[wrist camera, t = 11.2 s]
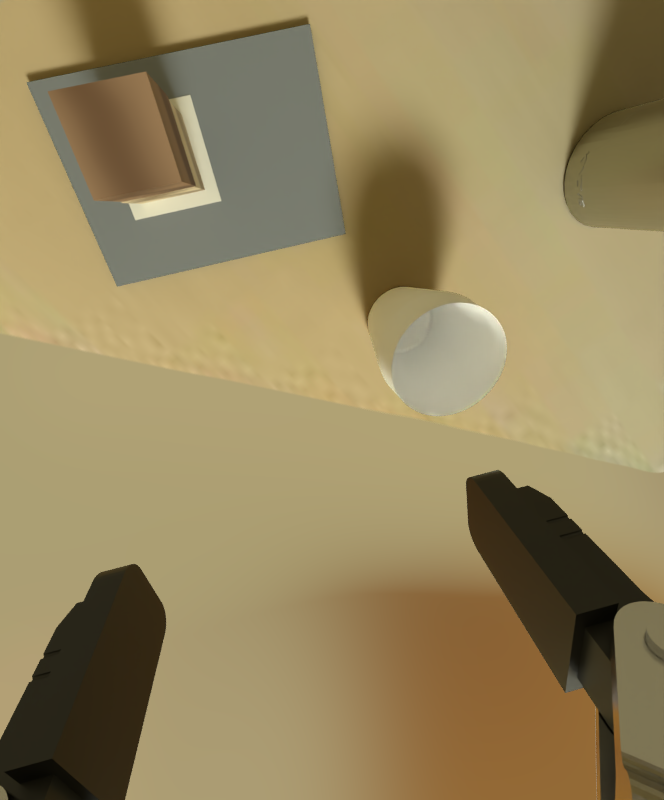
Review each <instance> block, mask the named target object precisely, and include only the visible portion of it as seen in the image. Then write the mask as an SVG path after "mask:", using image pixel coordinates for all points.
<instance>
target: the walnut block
mask: <svg viewBox="0 0 664 800" xmlns="http://www.w3.org/2000/svg"><path fill="white" fill-rule="evenodd" d="M48 94H49V96H50V98H51V101H52V103H53V106H54V108H55V110H56V113H57V115H58V117H59V120H60V122H61V124H62V127H63V129H64V131H65V134H66V136H67V139H68V141H69V143H70V146H71V148H72V150H73V153H74V155H75V157H76V160H77V162H78V164H79V167H80V169H81V172H82V174H83V176H84V179H85V181H86V183H87V186H88V188H89V190H90V193H91V195H92V197H93V200H94V201H114V202H125V201H129V200H134V199H139V198H143V197H148V196H152V195H157V194H162V193H166V192H171V191H176V190H180V189H185V188H189V187H194V186H196V184H195V181H194V178H193V175H192V172H191V168H190V165H189V162H188V159H187V156H186V152H185V149H184V146H183V143H182V140H181V136H180V133H179V130H178V127H177V124H176V120H175V117H174V114H173V111H172V108H171V104H170V101H169V98H168V96H167V95H166V93H165V92H164V91H163V90H162V89H161V88H160V87H159V86H158V84H157V83H156V82H155V81H154V80H153V79H152V78H151V77H150V75H149V74H148V73H147V72H141V73H136V74H131V75H126V76H121V77H116V78H111V79H106V80H101V81H96V82H91V83H87V84H82V85H77V86H72V87H67V88H62V89H57V90H52V91H48Z"/></svg>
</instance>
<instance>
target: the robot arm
mask: <svg viewBox="0 0 664 800" xmlns="http://www.w3.org/2000/svg"><path fill="white" fill-rule="evenodd" d="M564 189H565V198H566V203H567V206H568V208H569V210H570V212H571V214H572V215H573V216H574V217H575V218H576V219H577V220H578V221H579V222H581V223H582V224H584V225H587V226H591V227H600V228H617V229H630V230H647V231H664V99H660V100H656V101H653V102H649V103H645V104H642V105H638V106H635V107H631V108H627V109H624V110H620V111H617V112H614V113H611V114H609V115H607V116H605V117H603V118H602V119H600V120H599V121H598V122H596V123H595V124H594V125H593V126H592V127H591V128H590V129H589V130H588V131H587V132H586V133H585V134H584V135H583V137H582V138H581V140H580V141H579V143H578V144H577V145H576V147H575V149H574V151H573V153H572V155H571V157H570V160H569V163H568V167H567V170H566V175H565V182H564ZM466 491H467V509H468V525H469V530H470V534H471V536H472V539H473V542H474V544H475V546H476V548H477V550H478V552H479V553H480V555H481V556H482V558H483V560H484V561H485V563H486V565H487V566H488V568H489V570H490V571H491V573H492V574H493V576H494V578H495V579H496V581H497V583H498V584H499V586H500V587H501V589H502V591H503V592H504V594H505V596H506V597H507V599H508V600H509V602H510V604H511V605H512V607H513V608H514V610H515V612H516V613H517V615H518V617H519V618H520V620H521V622H522V623H523V625H524V626H525V628H526V630H527V631H528V633H529V635H530V636H531V638H532V639H533V641H534V643H535V644H536V646H537V648H538V649H539V651H540V653H541V654H542V656H543V657H544V659H545V661H546V662H547V664H548V666H549V667H550V669H551V670H552V672H553V673H554V675H555V677H556V679H557V680H558V682H559V683H560V685H561V687H562V688H563V690H564V691H565V693H567V692H570V691H573V690H577V689H580V688H584V689H585V690H586V692H587V693H588V695H589V696H590V698H591V699H592V701H593V702H594V704H595V706H596V710H595V719H596V720H595V727H596V779H597V780H596V782H597V800H664V604H661V603H656V602H654V601H653V600H651V599H650V598H649V597H648V596H647V595H645V594H644V593H643V592H642V591H641V590H640V589H639V588H638V587H637V586H636V585H635V584H634V583H633V582H632V581H631V580H630V579H629V578H628V576H627V575H626V574H625V573H624V572H623V571H622V570H621V569H620V568H619V567H618V566H617V565H616V564H615V563H614V562H613V561H612V560H611V559H610V558H609V557H608V556H607V555H606V554H605V553H604V552H603V551H602V550H601V549H600V548H599V547H598V546H597V545H596V544H595V543H594V542H593V541H592V540H591V539H590V538H589V537H588V536H587V535H586V534H583V532H582V530H581V529H580V528H579V526H578V525H577V524H576V523H575V522H574V521H573V520H572V519H569V518H568V515H567V514H566V513H565V512H564V511H563V510H562V509H561V508H560V507H559V506H558V505H557V504H556V503H555V502H554V501H553V500H552V499H551V498H550V497H548V496H546V495H544V494H543V493H541V492H539V491H537V490H535V489H533V488H531V487H530V486H525V487H521V488H516V487H515V486H514V485H513V484H512V482H511V481H510V480H509V479H508V478H507V477H506V476H505V474H504V473H502V472H501V471H499V470H496V471H492V472H488V473H484V474H481V475H477V476H473V477H469V478H468V479H467V481H466ZM165 629H166V615H165V610H164V607H163V604H162V602H161V601H160V599H159V598H158V596H157V594H156V593H155V591H154V589H153V588H152V586H151V585H150V583H149V582H148V580H147V578H146V577H145V575H144V573H143V572H142V570H141V569H140V567H139V566H138V565H136V564H131V565H127V566H124V567H120V568H116V569H112V570H108V571H104V572H101V573H99V574H98V575H97V576H96V577H95V578H94V580H93V582H92V584H91V587H90V589H89V591H88V593H87V595H86V597H85V599H84V601H83V602H80V603H77V604H76V605H75V606H74V608H73V609H72V610H71V611H70V612H69V613H68V615H67V616H66V617H65V618H64V619H63V621H62V622H61V623H60V624H59V625H58V627H57V628H56V630H55V632H54V634H53V636H52V638H51V640H50V642H49V644H48V646H47V648H46V650H45V652H44V658H43V659H41V660H40V662H39V664H38V666H37V668H36V670H35V672H34V674H33V676H32V677H33V680H32V682H29V684H28V686H27V688H26V690H25V692H24V694H23V696H22V698H21V700H20V702H19V704H18V706H17V708H16V710H15V711H14V713H13V715H12V717H11V720H10V722H9V723H8V725H7V727H6V729H5V731H4V733H3V735H2V737H1V739H0V800H125V796H126V793H127V789H128V784H129V780H130V776H131V772H132V768H133V764H134V760H135V755H136V751H137V747H138V743H139V738H140V735H141V731H142V726H143V722H144V718H145V714H146V710H147V706H148V701H149V697H150V693H151V689H152V685H153V681H154V676H155V672H156V668H157V664H158V660H159V656H160V652H161V647H162V643H163V639H164V635H165Z"/></svg>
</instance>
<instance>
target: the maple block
mask: <svg viewBox="0 0 664 800" xmlns="http://www.w3.org/2000/svg"><path fill="white" fill-rule="evenodd" d="M170 104H171V108H172V111H173V114H174V117H175V120H176V124H177V127H178V130H179V133H180V136H181V140H182V143H183V146H184V149H185V152H186V156H187V159H188V162H189V165H190V168H191V172H192V175H193V178H194V181H195V184H196V186H194V187H189V188H185V189H180V190H176V191H171V192H166V193H162V194H157V195H152V196H148V197H143V198H139V199H134V200H129V201H125V202H121V203H134V204H144V203H148V202H153V201H157V200H162V199H166V198H171V197H175V196H180V195H184V194H189V193H193V192H198V191H202V190H205V188H204V185H203V182H202V179H201V175H200V172H199V169H198V166H197V162H196V159H195V156H194V153H193V149H192V146H191V143H190V140H189V137H188V133H187V130H186V127H185V124H184V120H183V117H182V114H181V113H180V112H179V111H178V110H177V109H176V108H175V106H174V105H173V104H172V103H171V102H170Z"/></svg>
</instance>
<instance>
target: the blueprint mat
mask: <svg viewBox="0 0 664 800" xmlns="http://www.w3.org/2000/svg"><path fill="white" fill-rule="evenodd" d="M141 72H147V73H148V74H149V75H150V77H151V78H152V79H153V80H154V81H155V82H156V83H157V84H158V86H159V87H160V88H161V89H162V90H163V91H164V92H165V93H166V95H167V96H168V98H169V101H170V102H171V103H172V104H173V105H174V106H175V108H176V109H177V110H178V111H179V112H180V113H181V114H182V117H183V120H184V124H185V127H186V130H187V133H188V137H189V140H190V143H191V146H192V149H193V153H194V156H195V159H196V162H197V166H198V169H199V172H200V175H201V179H202V182H203V185H204V188H205V190H202V191H198V192H193V193H189V194H184V195H180V196H175V197H171V198H166V199H162V200H157V201H153V202H148V203H144V204H134V203H121V202H114V201H94V200H93V197H92V195H91V193H90V190H89V188H88V186H87V183H86V181H85V179H84V176H83V174H82V172H81V169H80V167H79V164H78V162H77V160H76V157H75V155H74V153H73V150H72V148H71V146H70V143H69V141H68V139H67V136H66V134H65V131H64V129H63V127H62V124H61V122H60V120H59V117H58V115H57V113H56V110H55V108H54V106H53V103H52V101H51V98H50V96H49V94H48V91H52V90H57V89H62V88H67V87H72V86H77V85H82V84H87V83H91V82H96V81H101V80H106V79H111V78H116V77H121V76H126V75H131V74H136V73H141ZM27 85H28V87H29V89H30V92H31V94H32V96H33V98H34V101H35V103H36V105H37V107H38V110H39V112H40V114H41V116H42V119H43V121H44V123H45V125H46V128H47V130H48V132H49V134H50V137H51V139H52V141H53V143H54V146H55V148H56V150H57V152H58V155H59V157H60V159H61V161H62V164H63V166H64V168H65V170H66V173H67V175H68V177H69V179H70V182H71V184H72V186H73V188H74V191H75V193H76V195H77V197H78V200H79V202H80V204H81V206H82V209H83V211H84V213H85V215H86V218H87V220H88V222H89V224H90V227H91V229H92V231H93V233H94V236H95V238H96V240H97V242H98V245H99V247H100V249H101V251H102V254H103V256H104V258H105V260H106V263H107V265H108V267H109V269H110V272H111V274H112V276H113V278H114V281H115V283H116V285H117V286H122V285H126V284H130V283H135V282H139V281H143V280H148V279H152V278H156V277H161V276H165V275H169V274H174V273H178V272H182V271H187V270H191V269H195V268H200V267H204V266H208V265H213V264H217V263H221V262H226V261H230V260H234V259H239V258H243V257H247V256H252V255H256V254H260V253H265V252H269V251H273V250H278V249H282V248H286V247H291V246H295V245H299V244H304V243H308V242H312V241H317V240H321V239H325V238H330V237H334V236H338V235H343V234H346V233H345V227H344V222H343V216H342V210H341V204H340V198H339V192H338V186H337V180H336V175H335V169H334V163H333V157H332V151H331V145H330V139H329V133H328V128H327V122H326V116H325V110H324V104H323V98H322V92H321V86H320V81H319V75H318V69H317V63H316V57H315V51H314V45H313V39H312V34H311V28H310V24H307V25H302V26H297V27H292V28H288V29H283V30H278V31H273V32H268V33H263V34H259V35H254V36H249V37H244V38H239V39H234V40H230V41H225V42H220V43H215V44H210V45H205V46H201V47H196V48H191V49H186V50H181V51H176V52H172V53H167V54H162V55H157V56H152V57H147V58H143V59H138V60H133V61H128V62H123V63H118V64H114V65H109V66H104V67H99V68H94V69H89V70H85V71H80V72H75V73H70V74H65V75H60V76H56V77H51V78H46V79H41V80H36V81H31V82H27Z"/></svg>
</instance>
